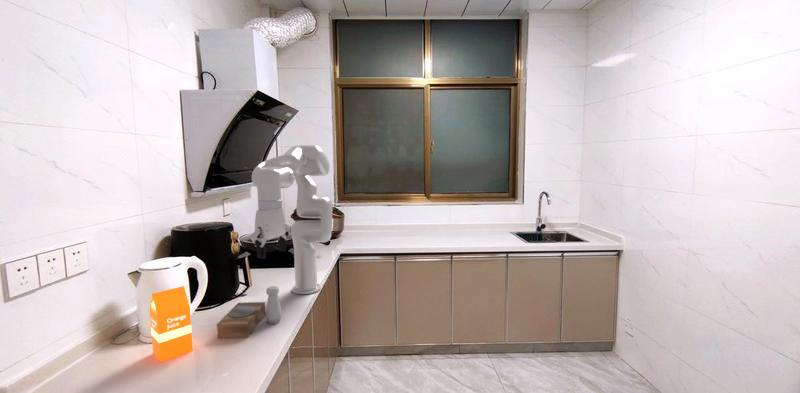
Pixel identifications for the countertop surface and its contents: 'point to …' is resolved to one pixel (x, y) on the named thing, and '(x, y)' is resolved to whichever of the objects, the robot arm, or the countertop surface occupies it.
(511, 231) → the countertop surface
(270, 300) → the salt shaker
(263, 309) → the walnut stand
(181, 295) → the orange juice
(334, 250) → the countertop surface
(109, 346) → the countertop surface
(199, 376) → the countertop surface
